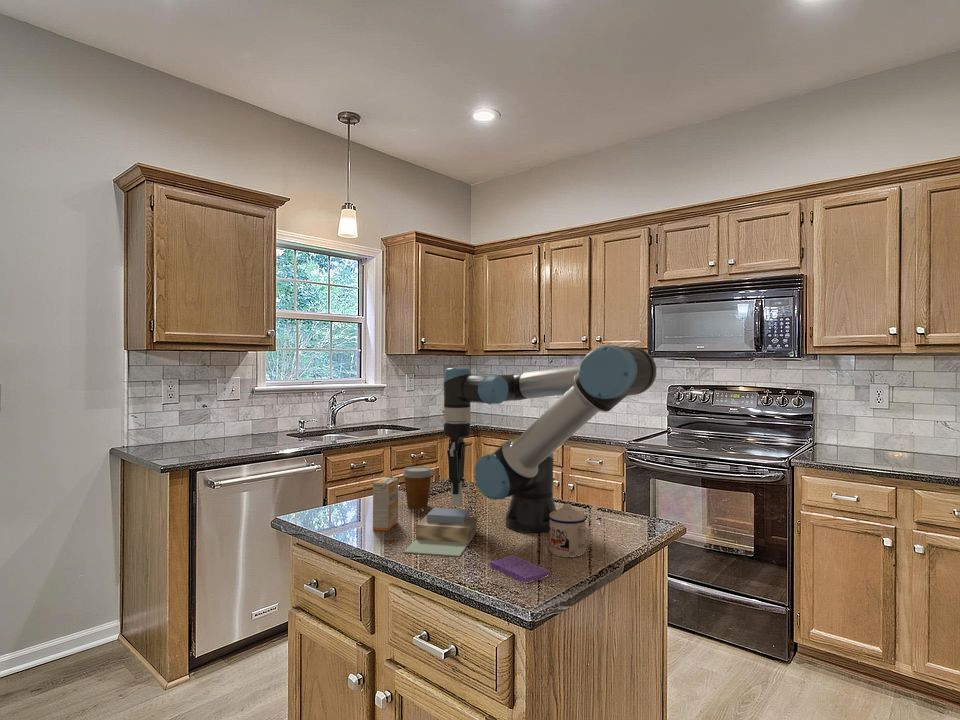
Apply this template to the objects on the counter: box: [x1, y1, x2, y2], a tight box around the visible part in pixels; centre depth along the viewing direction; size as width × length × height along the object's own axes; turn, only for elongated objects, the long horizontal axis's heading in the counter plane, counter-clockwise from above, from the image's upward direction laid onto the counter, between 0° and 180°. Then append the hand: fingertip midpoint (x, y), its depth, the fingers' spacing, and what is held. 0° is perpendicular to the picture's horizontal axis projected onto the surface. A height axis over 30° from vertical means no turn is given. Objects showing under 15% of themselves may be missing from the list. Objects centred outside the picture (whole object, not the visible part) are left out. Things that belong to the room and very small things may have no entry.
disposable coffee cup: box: [402, 465, 433, 510], centre depth 184 cm, size 10×10×12 cm
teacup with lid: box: [549, 503, 593, 558], centre depth 140 cm, size 12×9×12 cm
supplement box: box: [372, 477, 399, 532], centre depth 162 cm, size 8×5×13 cm, turn 168°
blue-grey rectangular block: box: [426, 507, 471, 524], centre depth 154 cm, size 10×7×2 cm
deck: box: [415, 514, 478, 544], centre depth 153 cm, size 14×10×4 cm
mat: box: [403, 538, 470, 558], centre depth 143 cm, size 14×10×1 cm
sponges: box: [489, 554, 550, 584], centre depth 128 cm, size 7×13×2 cm, turn 36°
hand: (456, 504), depth 164 cm, fingers closed
